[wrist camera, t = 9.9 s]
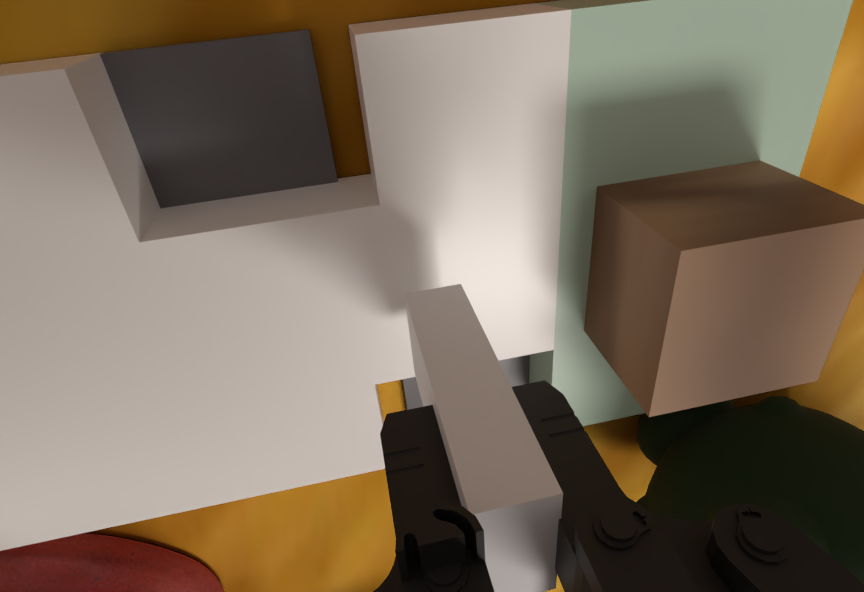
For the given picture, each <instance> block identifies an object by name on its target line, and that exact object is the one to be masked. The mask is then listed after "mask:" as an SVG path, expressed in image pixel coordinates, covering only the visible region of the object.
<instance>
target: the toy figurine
mask: <svg viewBox="0 0 864 592" xmlns="http://www.w3.org/2000/svg"><path fill="white" fill-rule="evenodd" d="M637 440H638V443H639V447H640V449H641V450H642V452H643V453H644V455H645V456H646V457H647V458H648V459H649V460H650V461H652V462H653V463H654V464H655V465H657V468H656V470H655V472H654V474H653V476H652V478H651V481H650V483H649V486H648V489H647V492H646V495H645V496H643V497H642V498H640V499H639V500H638V501H637V502H636V503H638V504H639V505H641V506H642V507H644V508H645V509H646V510H647V511H648V512H650V513H653V514H656V515H658V516H661V517H667V518H673V519H683V520H696V521H709V522H713V521H714V518H715V516H716V515H717V514H718V513H719V512H720V511H721V510H722V509H723V508H724V507H727V506H731V505H734V504H751V505H757V506H759V507H762V508H765V509H768V510H771V511H773V512H775V513H776V514H778V515H779V516H781V517H782V518H784V519H785V520H787V521H789V522H790V523H791V524H792V525H794V526H795V527H796V528H797V529H798V530H800V531H801V532H802V533H803V534H804V535H806V536H807V537H808V538H809V539H810V540H812V541H813V542H814V543H815V544H816V545H818V546H819V547H820V548H821V549H822V550H824V551H825V552H826V553H827V554H828V555H830V556H831V557H832V558H833V559H834V560H836V561H837V562H838V563H839V564H840V565H841V566H843V567H844V568H845V569H846V570H847V571H849V572H850V573H851V574H852V575H853V576H855V577H856V578H857V579H858V580H859V581H861V582H862V583H863V584H864V431H863V430H861V429H859V428H857V427H855V426H853V425H851V424H849V423H847V422H845V421H843V420H841V419H838V418H836V417H834V416H832V415H830V414H827V413H824V412H821V411H818V410H815V409H811V408H807V407H803V406H800V405H799V404H798V403H797V402H796V401H794V400H792V399H790V398H787V397H782V396H772V397H768V398H765V399H763V400H762V401H761V402H760V403H759V404H752V405H748V406H743V407H738V408H735V405H734V403H733V402H732V400H727V401H722V402H718V403H713V404H708V405H704V406H699V407H694V408H690V409H685V410H680V411H676V412H671V413H666V414H662V415H657V416H652V417H648V415H647V414H646V413H643V415H642V416H641V418H640V420H639V421H638V429H637Z"/></svg>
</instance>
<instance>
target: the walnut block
mask: <svg viewBox="0 0 864 592" xmlns="http://www.w3.org/2000/svg"><path fill="white" fill-rule="evenodd" d="M863 270H864V205H863V204H860V203H858V202H856V201H853V200H851V199H849V198H846V197H844V196H842V195H839V194H837V193H835V192H833V191H830V190H828V189H826V188H823V187H821V186H819V185H816V184H814V183H812V182H809V181H807V180H805V179H802V178H800V177H798V176H795V175H793V174H791V173H788V172H786V171H784V170H781V169H779V168H777V167H774V166H772V165H770V164H768V163H765V162H763V161H761V160H759V161H753V162H747V163H741V164H734V165H728V166H722V167H715V168H709V169H703V170H697V171H690V172H684V173H678V174H671V175H665V176H659V177H652V178H646V179H640V180H634V181H627V182H621V183H615V184H608V185H602V186H597V191H596V202H595V213H594V224H593V235H592V246H591V258H590V269H589V280H588V291H587V302H586V313H585V325H584V331H585V333H586V334H587V335H588V337H589V338H590V339H591V341H592V342H593V343H594V345H595V346H596V347H597V349H598V350H599V351H600V353H601V354H602V355H603V357H604V358H605V359H606V361H607V362H608V363H609V365H610V366H611V367H612V369H613V370H614V371H615V373H616V374H617V375H618V377H619V378H620V379H621V381H622V382H623V383H624V385H625V386H626V387H627V389H628V390H629V391H630V393H631V394H632V395H633V397H634V398H635V399H636V401H637V402H638V403H639V405H640V406H641V407H642V409H643V410H644V411H645V413H646V414H647V415H648V417H652V416H657V415H662V414H666V413H671V412H676V411H680V410H685V409H690V408H694V407H699V406H704V405H708V404H713V403H718V402H722V401H727V400H731V399H736V398H741V397H745V396H750V395H755V394H759V393H764V392H769V391H773V390H778V389H783V388H787V387H792V386H797V385H801V384H806V383H811V382H815V381H817V380H818V378H819V375H820V373H821V371H822V368H823V366H824V363H825V361H826V359H827V356H828V354H829V351H830V349H831V347H832V344H833V342H834V339H835V337H836V335H837V332H838V330H839V327H840V325H841V323H842V320H843V318H844V315H845V313H846V311H847V308H848V306H849V303H850V301H851V298H852V296H853V294H854V291H855V289H856V286H857V284H858V282H859V279H860V277H861V274H862V272H863Z"/></svg>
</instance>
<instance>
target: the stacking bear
mask: <svg viewBox="0 0 864 592" xmlns="http://www.w3.org/2000/svg"><path fill="white" fill-rule="evenodd" d="M0 592H224V590H223V588H222V585H221V583H220V582H219V580H218V579H217V577H216V576H215V575H214V574H213V573H212V572H211V571H210V570H209V569H208V568H206V567H205V566H204V565H202V564H201V563H199V562H197V561H195V560H193V559H191V558H189V557H187V556H185V555H182V554H179V553H176V552H174V551H171V550H168V549H165V548H162V547H159V546H155V545H151V544H147V543H143V542H138V541H134V540H129V539H124V538H118V537H113V536H106V535H98V534H88V533H82V534H77V535H72V536H68V537H63V538H58V539H54V540H49V541H44V542H40V543H35V544H30V545H25V546H21V547H16V548H11V549H7V550H2V551H0Z"/></svg>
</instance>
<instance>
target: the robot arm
mask: <svg viewBox="0 0 864 592" xmlns="http://www.w3.org/2000/svg"><path fill="white" fill-rule="evenodd" d="M404 297H405V304H406V312H407V319H408V327H409V334H410V342H411V349H412V357H413V364H414V372H415V377H416V381H417V385H418V388H419V392H420V396H421V400H422V403H423V407H419V408H414V409H409V410H404V411H399V412H394V413H389V414H387V415H386V418H385V421H384V424H383V427H382V430H381V432H380V438H381V444H382V450H383V457H384V463H385V470H386V476H387V483H388V489H389V496H390V502H391V509H392V515H393V521H394V528H395V534H396V550H395V552H396V558H395V562H394V565H393V567H392V569H391V571H390V573H389V575H388V577H387V578H386V579H385V580H384V582H383V583H382V584H381V585H380V587H378V588H377V589H376V590H375V591H373V592H543V591H547V590H551V589H555V588H556V578H557V574H558V577H559V579H560V581H561V584H562V586H563V589H564V591H565V592H864V584H863V583H862V582H861V581H859V580H858V579H857V578H856V577H855V576H853V575H852V574H851V573H850V572H849V571H847V570H846V569H845V568H844V567H843V566H841V565H840V564H839V563H838V562H837V561H836V560H834V559H833V558H832V557H831V556H830V555H828V554H827V553H826V552H825V551H824V550H822V549H821V548H820V547H819V546H818V545H816V544H815V543H814V542H813V541H812V540H810V539H809V538H808V537H807V536H806V535H804V534H803V533H802V532H801V531H800V530H798V529H797V528H796V527H795V526H794V525H792V524H791V523H790V522H789V521H787V520H785V519H784V518H782V517H781V516H779V515H778V514H776V513H775V512H773V511H771V510H768V509H765V508H762V507H759V506H757V505H751V504H734V505H731V506H727V507H724V508H723V509H722V510H721V511H720V512H719V513H718V514H717V515H716V516H715V518H714V521H713V522H709V521H696V520H683V519H673V518H667V517H661V516H658V515H656V514H653V513H650V512H648V511H647V510H646V509H645V508H644V507H642V506H641V505H639V504H638V503H636V502H634V501H633V500H631V499H629V498H628V497H627V496H626V495H625V494H624V493H623V491H622V490H621V489H620V487H619V486H618V484H617V482H616V481H615V479H614V477H613V476H612V474H611V472H610V471H609V469H608V468H607V466H606V464H605V463H604V461H603V459H602V458H601V456H600V454H599V453H598V451H597V449H596V448H595V446H594V444H593V443H592V441H591V439H590V438H589V436H588V434H587V433H586V431H584V429H583V426H582V424H581V423H580V421H579V419H578V418H577V416H575V414H574V411H573V409H572V408H571V406H570V404H569V403H568V401H567V399H566V398H565V396H564V394H562V393H561V392H560V391H558V390H557V389H556V388H554V387H553V386H552V385H551V384H549V383H548V382H547V381H545V380H543V381H539V382H534V383H529V384H524V385H519V386H514V387H511V385H510V383H509V381H508V379H507V377H506V375H505V373H504V371H503V369H502V367H501V365H500V363H499V361H498V359H497V357H496V355H495V353H494V351H493V349H492V346H491V344H490V342H489V340H488V338H487V336H486V334H485V332H484V330H483V328H482V326H481V324H480V322H479V320H478V318H477V316H476V314H475V312H474V310H473V308H472V305H471V303H470V301H469V299H468V297H467V295H466V293H465V291H464V289H463V287H462V285H461V284H457V285H451V286H445V287H440V288H434V289H428V290H423V291H417V292H412V293H406V294H404Z"/></svg>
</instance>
